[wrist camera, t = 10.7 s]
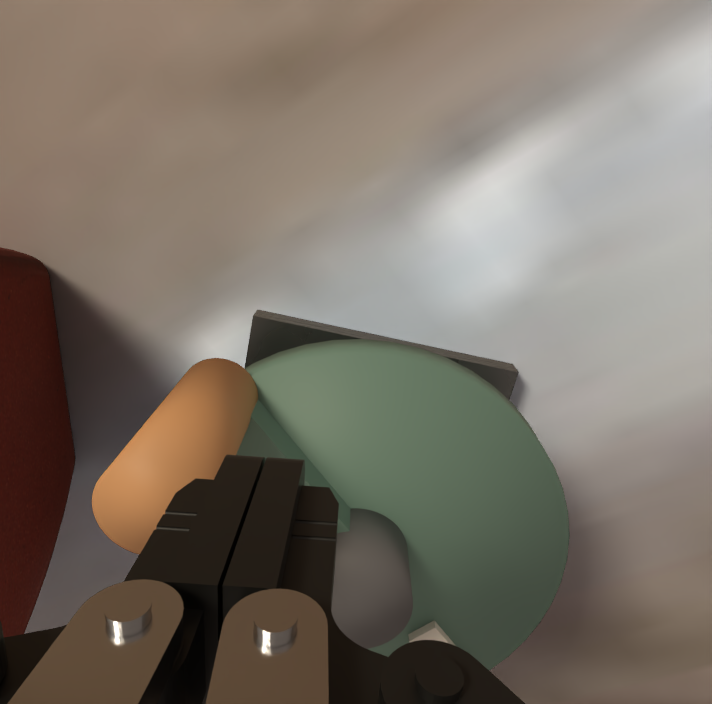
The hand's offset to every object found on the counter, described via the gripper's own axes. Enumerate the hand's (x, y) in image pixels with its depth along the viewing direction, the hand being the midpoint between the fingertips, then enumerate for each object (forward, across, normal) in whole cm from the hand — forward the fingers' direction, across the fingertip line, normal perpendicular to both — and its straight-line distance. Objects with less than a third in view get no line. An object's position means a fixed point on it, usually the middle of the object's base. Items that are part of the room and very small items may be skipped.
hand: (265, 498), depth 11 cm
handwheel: (+13, -2, +9) cm, 16 cm away
